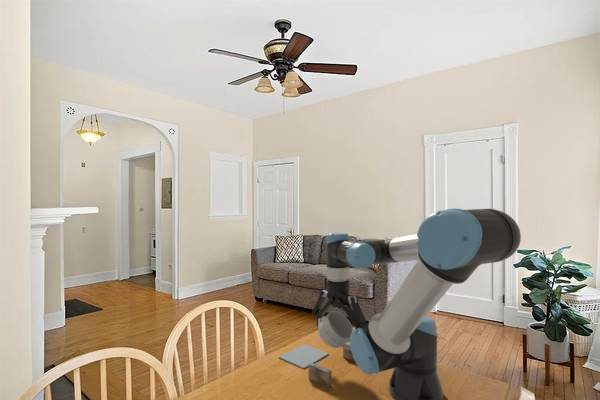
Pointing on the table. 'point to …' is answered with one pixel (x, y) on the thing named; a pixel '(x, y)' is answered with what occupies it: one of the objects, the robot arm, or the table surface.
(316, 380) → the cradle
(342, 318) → the teacup
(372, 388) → the table surface
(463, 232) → the robot arm
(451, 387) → the table surface
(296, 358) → the mat
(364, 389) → the table surface
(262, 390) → the table surface
